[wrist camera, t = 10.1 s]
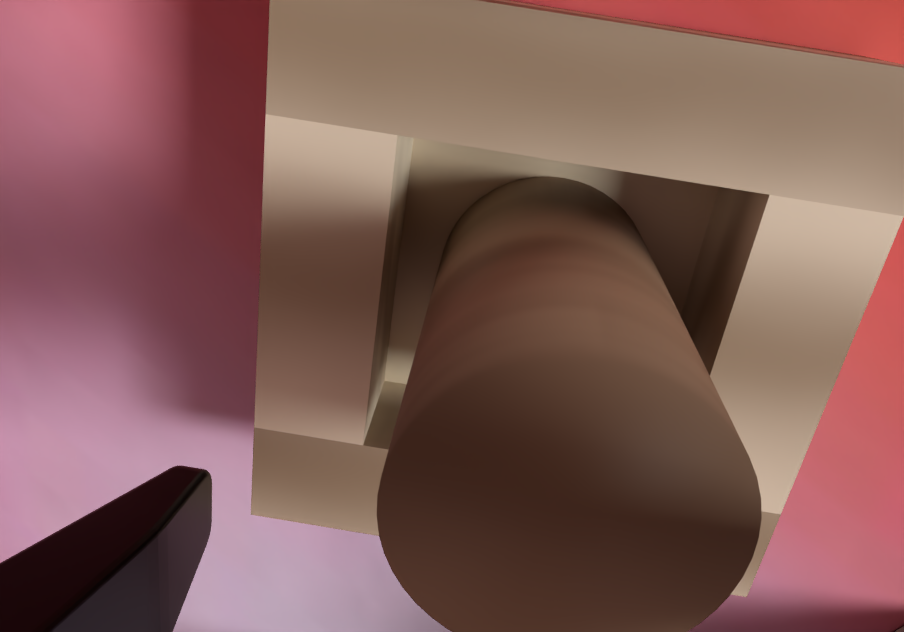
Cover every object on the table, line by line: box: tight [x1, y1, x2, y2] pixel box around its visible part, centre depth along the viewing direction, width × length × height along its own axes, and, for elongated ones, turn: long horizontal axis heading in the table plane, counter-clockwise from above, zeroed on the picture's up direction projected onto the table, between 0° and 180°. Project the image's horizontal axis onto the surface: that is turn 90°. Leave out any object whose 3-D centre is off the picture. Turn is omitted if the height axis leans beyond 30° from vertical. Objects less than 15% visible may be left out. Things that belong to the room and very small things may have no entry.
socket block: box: [251, 0, 904, 597], centre depth 17 cm, size 12×12×4 cm
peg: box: [377, 177, 762, 632], centre depth 14 cm, size 5×5×9 cm
